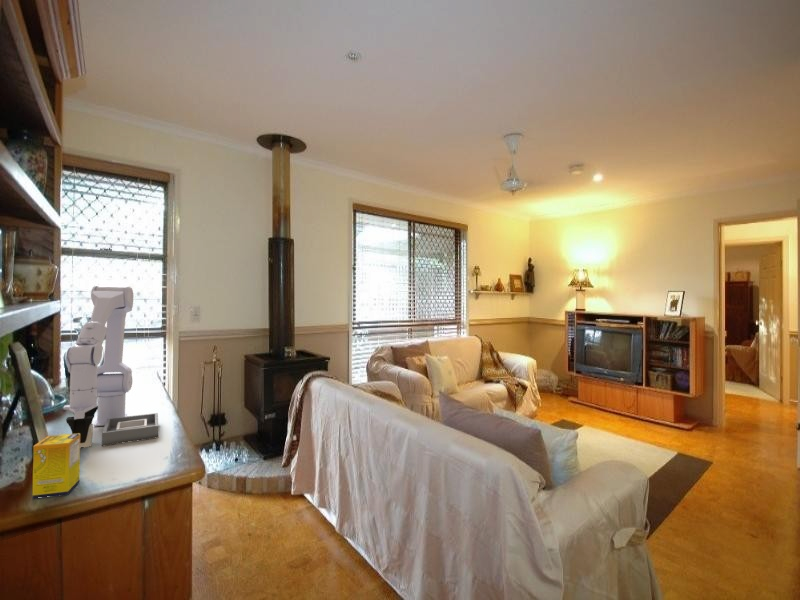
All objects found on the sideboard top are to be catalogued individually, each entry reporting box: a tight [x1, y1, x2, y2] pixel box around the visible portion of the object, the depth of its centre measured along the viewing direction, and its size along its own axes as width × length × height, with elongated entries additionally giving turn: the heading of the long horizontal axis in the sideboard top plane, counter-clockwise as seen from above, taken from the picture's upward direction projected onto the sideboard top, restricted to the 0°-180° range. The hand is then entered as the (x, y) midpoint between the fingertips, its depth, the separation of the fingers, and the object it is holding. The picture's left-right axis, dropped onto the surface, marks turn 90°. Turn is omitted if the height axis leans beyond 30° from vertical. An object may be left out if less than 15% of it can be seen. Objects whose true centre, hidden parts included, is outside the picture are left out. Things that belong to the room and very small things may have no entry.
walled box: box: [101, 412, 160, 447], centre depth 115 cm, size 14×13×4 cm
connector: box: [80, 423, 94, 449], centre depth 105 cm, size 4×4×7 cm
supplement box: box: [32, 433, 81, 499], centre depth 81 cm, size 6×6×11 cm
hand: (82, 438), depth 105 cm, fingers open, 7 cm apart
